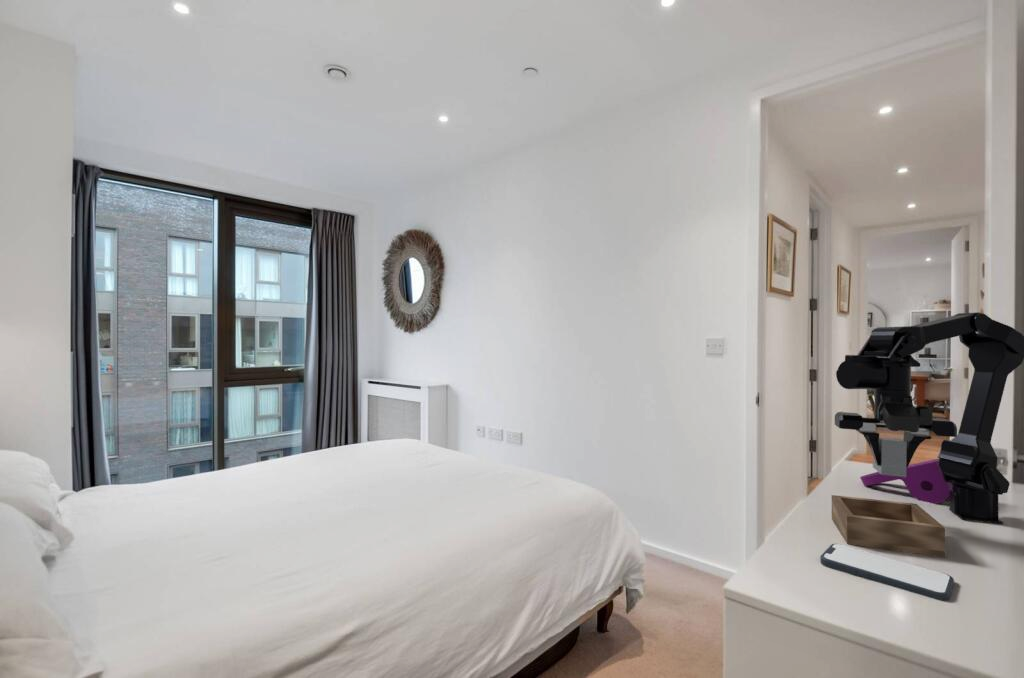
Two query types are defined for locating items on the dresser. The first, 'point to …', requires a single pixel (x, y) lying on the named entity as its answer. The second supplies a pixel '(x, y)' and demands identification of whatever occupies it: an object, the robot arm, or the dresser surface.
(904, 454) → the grey block
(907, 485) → the mounting bracket
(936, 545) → the open wooden box
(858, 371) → the robot arm
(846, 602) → the dresser surface
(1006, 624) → the dresser surface
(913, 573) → the phone case
